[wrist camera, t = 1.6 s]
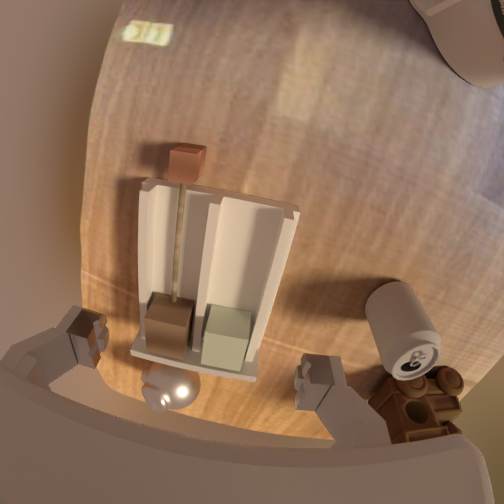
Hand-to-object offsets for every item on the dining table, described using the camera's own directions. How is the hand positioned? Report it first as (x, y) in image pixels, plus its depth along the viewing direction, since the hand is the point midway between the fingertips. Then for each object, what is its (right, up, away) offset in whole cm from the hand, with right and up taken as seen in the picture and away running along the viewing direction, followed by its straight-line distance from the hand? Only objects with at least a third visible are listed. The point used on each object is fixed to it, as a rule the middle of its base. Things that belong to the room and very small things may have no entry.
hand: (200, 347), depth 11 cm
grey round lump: (-10, -14, +35) cm, 39 cm away
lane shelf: (-3, +1, +26) cm, 26 cm away
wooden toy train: (+33, -21, +36) cm, 53 cm away
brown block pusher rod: (-6, +4, +24) cm, 25 cm away
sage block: (-1, -6, +27) cm, 28 cm away
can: (+21, -3, +27) cm, 34 cm away
